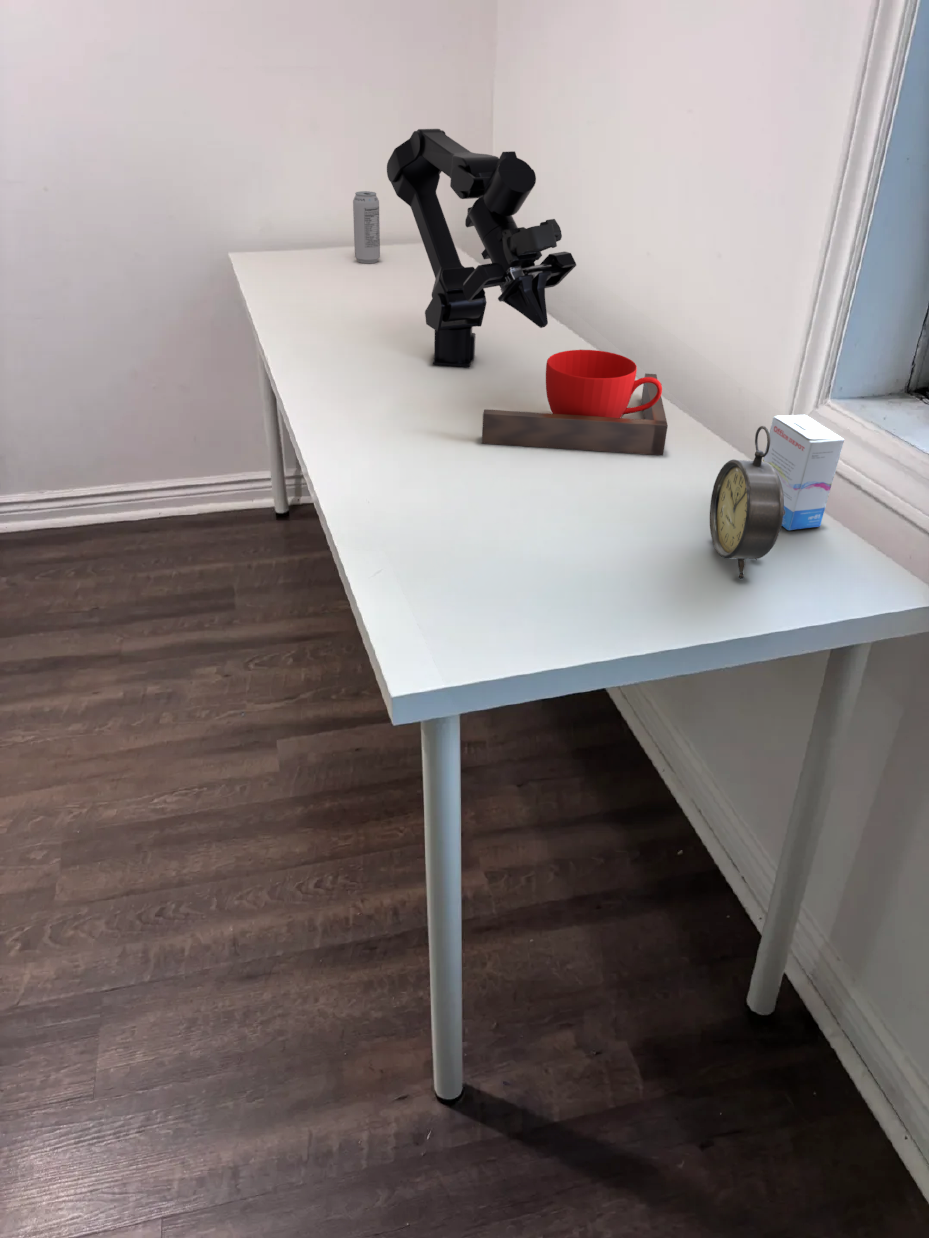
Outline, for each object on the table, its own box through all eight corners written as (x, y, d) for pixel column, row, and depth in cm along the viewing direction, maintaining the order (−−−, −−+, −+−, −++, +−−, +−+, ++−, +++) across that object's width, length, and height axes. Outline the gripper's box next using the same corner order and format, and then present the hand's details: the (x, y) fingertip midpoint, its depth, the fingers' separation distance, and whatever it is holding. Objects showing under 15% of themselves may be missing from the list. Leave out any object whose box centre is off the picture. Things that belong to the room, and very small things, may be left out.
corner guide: (481, 443, 136) (483, 413, 133) (492, 391, 154) (493, 364, 151) (663, 455, 134) (667, 425, 132) (652, 401, 152) (656, 374, 150)
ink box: (823, 527, 117) (847, 437, 110) (787, 532, 116) (810, 441, 109) (784, 497, 124) (805, 411, 117) (751, 501, 122) (770, 414, 116)
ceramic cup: (651, 455, 134) (661, 386, 129) (533, 440, 137) (539, 372, 132) (658, 422, 145) (668, 357, 139) (549, 409, 148) (554, 345, 142)
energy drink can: (369, 257, 230) (368, 190, 221) (385, 261, 226) (384, 194, 218) (349, 260, 226) (347, 192, 218) (365, 265, 223) (363, 196, 214)
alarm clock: (700, 538, 114) (725, 408, 105) (744, 537, 114) (772, 408, 105) (729, 585, 105) (759, 448, 96) (776, 584, 105) (810, 447, 96)
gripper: (478, 205, 131) (527, 305, 130) (573, 194, 141) (619, 287, 140) (442, 254, 140) (487, 347, 139) (533, 240, 150) (576, 327, 150)
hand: (544, 326), depth 142 cm, fingers closed
